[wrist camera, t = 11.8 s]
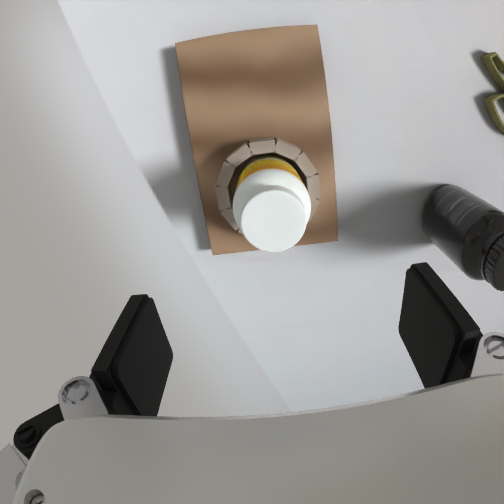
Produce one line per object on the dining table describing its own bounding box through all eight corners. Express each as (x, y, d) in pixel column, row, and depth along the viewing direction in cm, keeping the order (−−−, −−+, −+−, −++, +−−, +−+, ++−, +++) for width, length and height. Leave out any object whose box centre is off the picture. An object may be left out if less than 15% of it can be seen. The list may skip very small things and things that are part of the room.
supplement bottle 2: (419, 247, 32) (475, 310, 21) (419, 187, 29) (487, 234, 18) (467, 236, 31) (529, 291, 20) (470, 180, 28) (542, 220, 17)
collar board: (179, 46, 24) (168, 39, 20) (314, 28, 23) (321, 19, 20) (214, 248, 32) (210, 265, 29) (334, 234, 31) (342, 249, 28)
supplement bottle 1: (305, 205, 29) (325, 252, 20) (247, 219, 29) (242, 271, 21) (291, 147, 26) (308, 170, 18) (230, 162, 27) (217, 192, 18)
